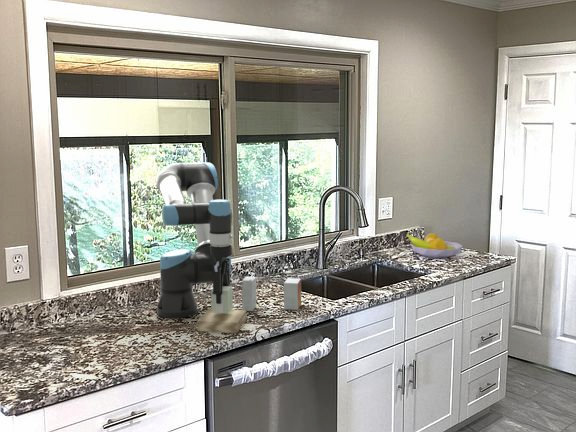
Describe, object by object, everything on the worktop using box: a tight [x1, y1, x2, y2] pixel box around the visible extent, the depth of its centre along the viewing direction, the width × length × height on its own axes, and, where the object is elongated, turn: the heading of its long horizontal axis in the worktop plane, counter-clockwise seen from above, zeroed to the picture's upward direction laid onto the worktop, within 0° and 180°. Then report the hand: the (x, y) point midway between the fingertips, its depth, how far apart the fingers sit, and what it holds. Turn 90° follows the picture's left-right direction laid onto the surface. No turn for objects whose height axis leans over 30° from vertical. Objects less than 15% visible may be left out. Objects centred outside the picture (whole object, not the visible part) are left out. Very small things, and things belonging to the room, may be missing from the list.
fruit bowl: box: [406, 232, 463, 259], centre depth 325 cm, size 28×27×11 cm
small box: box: [283, 277, 302, 311], centre depth 235 cm, size 8×6×10 cm
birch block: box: [196, 308, 247, 334], centre depth 214 cm, size 14×14×4 cm
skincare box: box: [241, 276, 257, 312], centre depth 233 cm, size 6×4×12 cm
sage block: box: [210, 285, 234, 313], centre depth 213 cm, size 6×6×8 cm
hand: (222, 309), depth 214 cm, fingers closed on sage block, 6 cm apart
